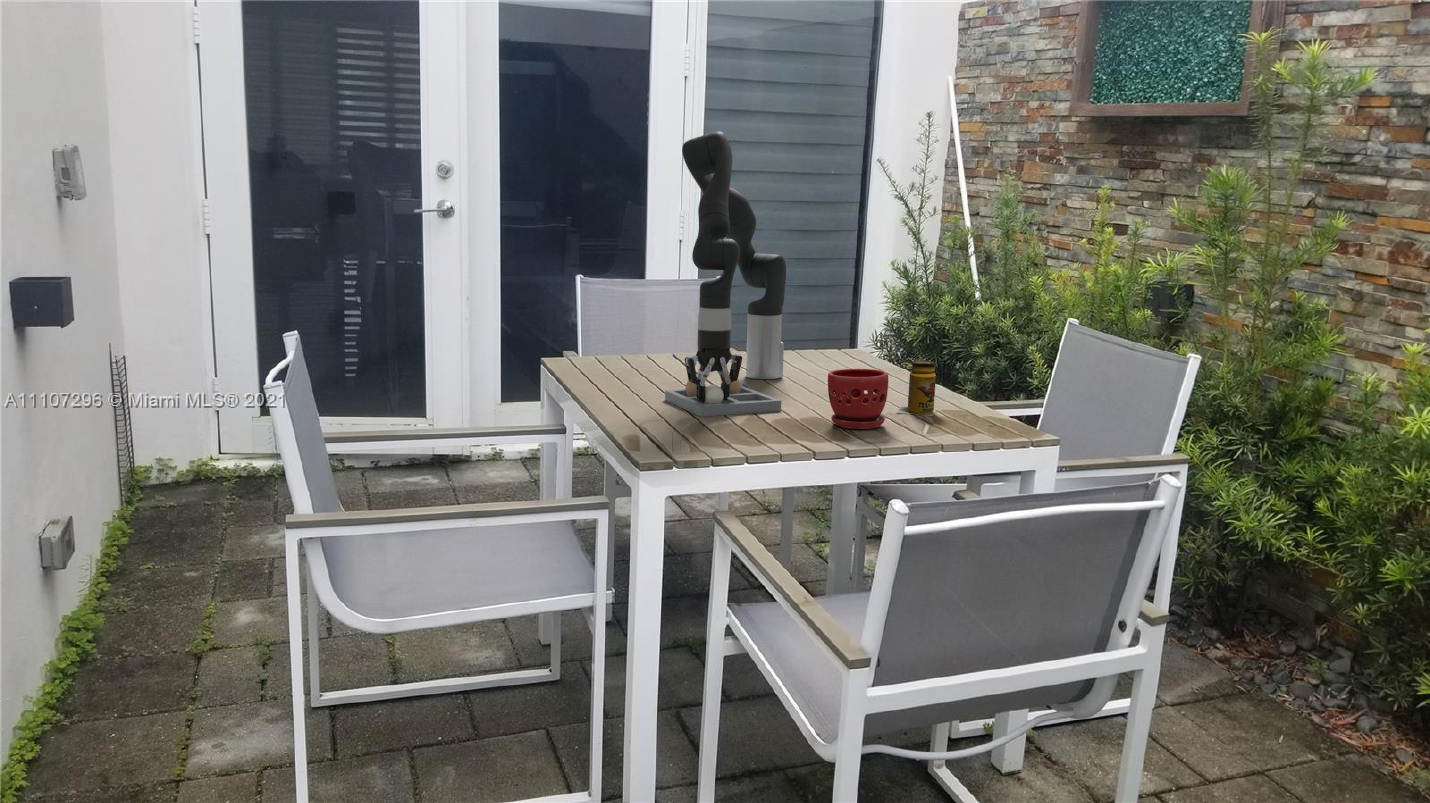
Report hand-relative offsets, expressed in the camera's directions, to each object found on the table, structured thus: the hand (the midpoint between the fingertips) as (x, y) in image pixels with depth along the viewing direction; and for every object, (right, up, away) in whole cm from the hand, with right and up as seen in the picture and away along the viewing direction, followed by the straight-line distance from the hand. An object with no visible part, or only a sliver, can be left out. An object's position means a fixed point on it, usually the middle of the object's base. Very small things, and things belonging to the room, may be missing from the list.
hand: (712, 400), depth 257 cm
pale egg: (0, +1, 0) cm, 1 cm away
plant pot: (+31, -6, -12) cm, 34 cm away
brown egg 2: (+4, +3, +12) cm, 13 cm away
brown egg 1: (-4, +3, +8) cm, 10 cm away
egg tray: (+2, -1, +7) cm, 7 cm away
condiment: (+48, -3, +5) cm, 48 cm away
